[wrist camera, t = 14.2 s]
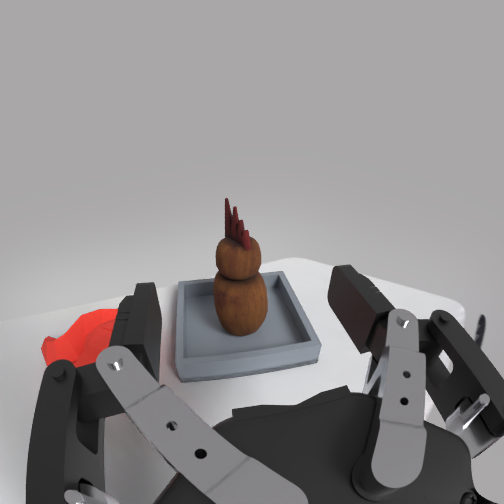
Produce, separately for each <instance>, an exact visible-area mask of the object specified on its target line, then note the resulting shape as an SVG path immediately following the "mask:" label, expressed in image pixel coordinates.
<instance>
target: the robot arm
mask: <svg viewBox="0 0 504 504" xmlns="http://www.w3.org/2000/svg"><path fill="white" fill-rule="evenodd" d="M328 302H329V305H330V307H331V308H332V310H333V312H334V313H335V315H336V316H337V318H338V319H339V321H340V322H341V324H342V325H343V327H344V329H345V330H346V332H347V333H348V335H349V336H350V338H351V340H352V341H353V343H354V344H355V346H356V348H357V349H358V351H359V352H360V354H362V353H366V352H369V351H370V352H371V353H372V355H371V357H370V360H369V365H368V370H367V374H366V379H365V384H364V388H363V391H362V393H356V392H350V391H349V389H348V387H347V385H346V386H342V387H339V388H335V389H332V390H328V391H324V392H321V393H319V394H317V395H315V396H313V397H311V398H309V399H307V400H305V401H303V402H301V403H299V404H297V405H258V406H251V407H244V408H237V409H232V417H231V418H229V419H226V420H224V421H222V422H220V423H218V424H217V425H215V426H214V427H213V428H211V427H210V426H209V425H208V424H207V423H205V422H204V421H203V420H202V419H201V418H200V417H199V416H198V415H196V414H195V413H194V412H193V411H192V410H191V409H190V408H189V407H188V406H187V405H186V404H185V403H184V402H183V401H182V400H181V399H180V398H179V397H178V396H176V395H175V394H174V393H173V392H172V391H171V390H170V389H169V388H168V387H167V386H166V385H162V386H161V385H160V384H159V363H160V344H161V329H162V317H161V310H160V306H159V301H158V297H157V292H156V287H155V284H154V282H151V283H137V284H136V288H135V292H134V295H132V296H126V297H125V298H124V299H123V300H122V301H121V303H120V304H119V308H118V311H117V315H116V319H115V322H114V326H113V330H112V334H111V338H110V342H109V346H108V348H106V349H104V350H103V351H102V352H101V353H100V354H99V355H98V357H97V359H96V362H94V363H91V364H88V365H84V366H80V367H75V366H74V364H73V363H72V362H71V361H69V360H66V359H60V360H56V361H54V362H52V363H51V364H50V365H49V366H48V367H47V368H46V370H45V372H44V375H43V379H42V383H41V387H40V391H39V395H38V399H37V404H36V409H35V414H34V419H33V424H32V430H31V437H30V444H29V452H28V462H27V476H26V504H119V503H118V501H117V500H116V499H115V498H114V497H112V496H111V495H109V494H107V493H105V479H104V421H105V417H109V416H113V415H117V414H120V413H124V412H125V413H126V415H127V416H128V417H129V419H130V420H131V421H132V422H133V424H134V425H135V426H136V427H137V429H138V430H139V431H140V432H141V434H142V435H143V436H144V437H145V438H146V440H147V441H148V442H149V443H150V444H151V445H152V447H153V448H154V449H155V450H156V451H157V452H158V453H159V455H160V456H161V457H162V458H163V459H164V460H165V461H166V462H167V463H168V464H169V465H170V466H171V467H172V468H173V469H174V470H175V471H176V472H177V473H176V475H175V476H174V477H173V479H172V480H171V481H170V482H169V484H168V485H167V486H166V488H165V489H164V490H163V492H162V493H161V494H160V495H159V497H158V498H157V499H156V500H155V502H154V503H153V504H497V503H494V502H492V501H489V500H487V499H485V498H484V497H482V496H481V495H479V494H478V492H477V491H476V489H475V487H474V484H473V480H472V472H471V459H473V458H475V457H477V456H478V455H479V454H481V453H482V452H483V451H485V450H486V449H487V448H489V447H490V446H491V445H493V444H494V443H495V442H496V441H498V440H499V439H500V438H501V437H502V436H504V380H503V378H502V377H501V375H500V374H499V372H498V371H497V370H496V368H495V367H494V366H493V364H492V363H491V362H490V361H489V359H488V358H487V356H486V355H485V354H484V353H483V352H482V350H481V349H480V348H479V346H478V345H477V344H476V343H475V341H474V340H473V339H472V338H471V337H470V335H469V334H468V333H467V332H466V331H465V329H464V328H463V327H462V326H461V325H460V324H459V322H458V321H457V320H456V319H455V318H454V317H453V316H452V315H451V314H450V313H448V312H446V311H443V310H435V311H433V312H432V314H431V316H430V318H429V319H417V318H416V317H415V315H413V314H412V313H411V312H409V311H407V310H404V309H395V307H394V306H393V305H392V304H391V303H390V302H389V301H388V300H387V298H386V297H385V296H384V295H383V294H382V293H381V292H380V291H379V289H378V288H377V287H375V285H374V284H373V283H372V282H371V281H370V280H369V279H368V278H367V277H365V276H363V275H362V274H359V273H358V272H357V271H356V270H355V269H354V268H353V267H352V266H351V265H341V266H335V267H334V268H333V270H332V275H331V280H330V285H329V290H328ZM442 350H444V351H445V352H446V354H447V355H448V356H449V358H450V359H451V361H452V362H453V371H452V373H451V374H450V373H449V371H448V370H447V368H446V367H445V365H444V364H443V362H442V361H441V360H440V358H439V355H440V353H441V352H442ZM425 389H426V390H427V392H428V394H429V395H430V397H431V399H432V400H433V402H434V404H435V405H436V407H437V409H438V411H439V412H440V414H441V415H442V418H443V419H444V421H445V423H446V430H445V429H443V428H440V427H438V426H436V425H434V424H431V423H429V422H427V421H425V420H424V408H425Z"/></svg>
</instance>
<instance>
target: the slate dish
mask: <svg viewBox="0 0 504 504" xmlns="http://www.w3.org/2000/svg"><path fill="white" fill-rule="evenodd" d="M260 274H261V275H262V277H263V279H264V283H265V286H266V289H267V298H268V312H267V315H266V318H265V320H264V322H263V324H262V325H261V327H260V328H259V329H258V330H257V331H256V332H255V333H252V334H250V335H246V336H235V335H232V334H230V333H228V332H227V331H226V330H225V329H224V328H223V327H222V325H221V323H220V321H219V319H218V316H217V313H216V309H215V304H214V295H213V284H214V279H215V278H213V279H203V280H192V281H183V282H179V283H178V299H177V319H176V353H175V366H176V369H177V372H178V375H179V377H180V380H181V383H182V382H196V381H207V380H217V379H226V378H234V377H241V376H248V375H255V374H261V373H268V372H273V371H279V370H284V369H290V368H295V367H300V366H304V365H309V364H314V363H317V361H318V357H319V353H320V349H321V345H322V344H321V342H320V341H319V339H318V337H317V335H316V333H315V331H314V329H313V327H312V325H311V323H310V321H309V319H308V318H307V316H306V314H305V312H304V310H303V308H302V306H301V304H300V302H299V300H298V299H297V297H296V295H295V293H294V291H293V289H292V287H291V285H290V284H289V282H288V280H287V278H286V276H285V274H284V272H283V271H278V272H269V273H260Z"/></svg>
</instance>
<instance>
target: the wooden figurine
mask: <svg viewBox="0 0 504 504" xmlns="http://www.w3.org/2000/svg"><path fill="white" fill-rule="evenodd" d="M260 265H261V252H260V247H259V244H258V243H257V241H256V240H255V239H254V238H252V237H250V236H249V231H248V230H244V224H243V220H239V219H238V214H237V207H236V206H235V207H233V215H232V214H231V210H230V205H229V201H228V198H226V199H225V238H224V239H222V240H221V241H220V242H219V244H218V246H217V250H216V266H217V268H218V270H219V271H218V272H217V274H216V276H215V279H214V284H213V295H214V304H215V309H216V313H217V316H218V319H219V321H220V323H221V325H222V327H223V328H224V329H225V330H226V331H227V332H228V333H230V334H232V335H235V336H246V335H250V334H252V333H255V332H256V331H257V330H258V329H259V328H260V327H261V325H262V324H263V322H264V320H265V318H266V315H267V312H268V298H267V289H266V286H265V283H264V279H263V277H262V275H261V274H260V273H259V272H258V270H259V268H260Z"/></svg>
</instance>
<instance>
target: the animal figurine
mask: <svg viewBox="0 0 504 504" xmlns="http://www.w3.org/2000/svg"><path fill="white" fill-rule="evenodd" d="M117 311H118V309H99V310H96V311H93V312H90V313H87V314H84V315H81V316H80V317H79V318H78V320H77V321H76V322H75V323H74V324H73V325H72V326H71V328H70V329H69V330H68V331H67V332H66V333H65V334H64V335H62V336H61V337H59V338H58V339H55V338H52V337H49V336H48V337H46V338H45V339H44V342H43V345H42V347H41V350H42V353H43V356H44V359H45V362H46V364H47V366H49V365H50V364H51V363H52V362H54V361H56V360H60V359H66V360H69V361H71V362H72V363H73V364H74V366H75V367H80V366H84V365H88V364H91V363H94V362H96V359H97V357H98V355H99V354H100V353H101V352H102V351H103V350H104V349H106V348H108V346H109V342H110V338H111V334H112V330H113V326H114V322H115V319H116V315H117Z"/></svg>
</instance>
